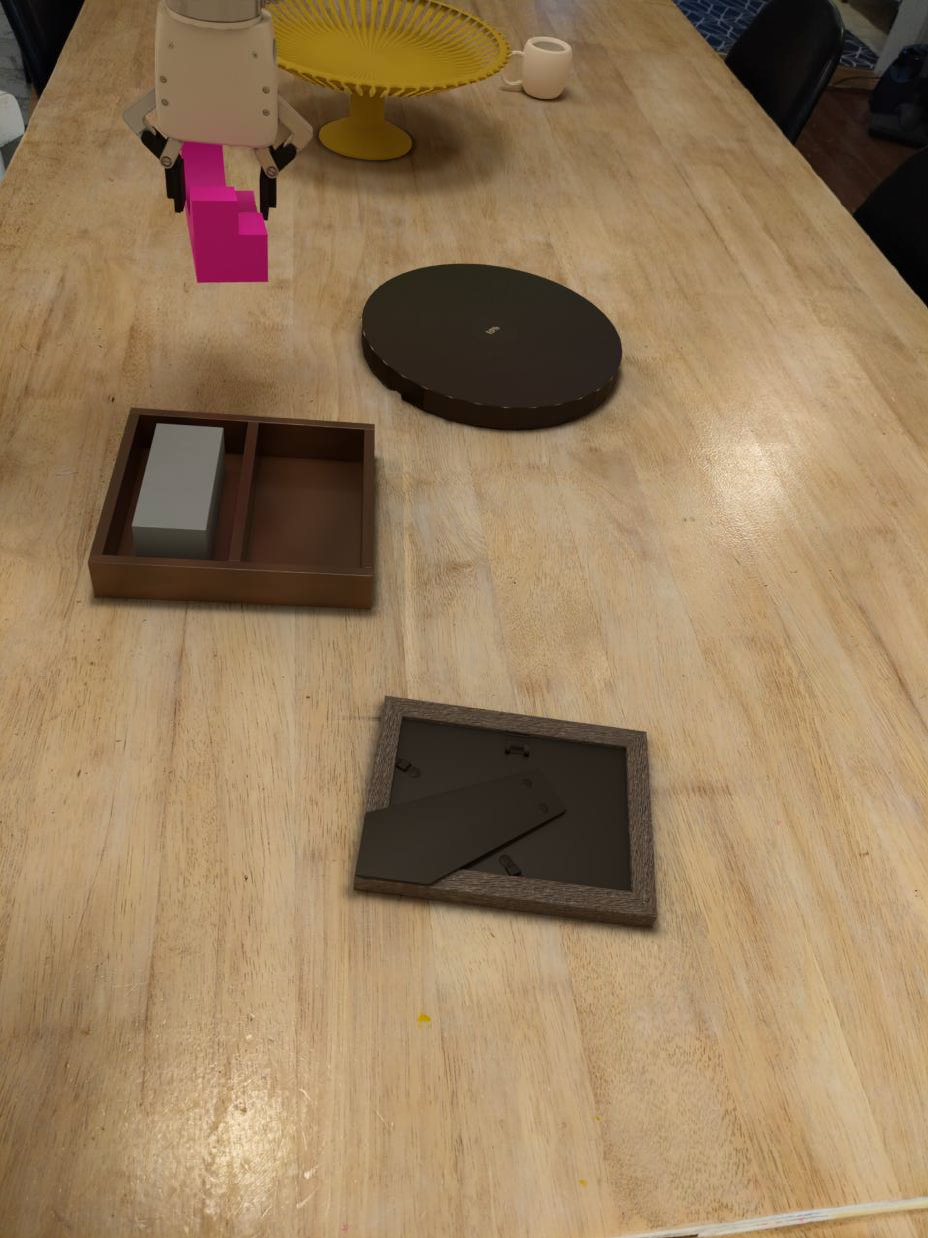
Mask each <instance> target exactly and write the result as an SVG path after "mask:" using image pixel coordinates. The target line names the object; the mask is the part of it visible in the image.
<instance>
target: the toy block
mask: <svg viewBox="0 0 928 1238" xmlns="http://www.w3.org/2000/svg"><path fill="white" fill-rule="evenodd" d="M223 146H224V145H217V144H206V143H197V142H187V141H185V142H184V144H183V146H182V148H181V150H180V155H181V157H182V158H183V159H184V170H185V184H186V202H185V206H184V211H185V217H186V224H187V229H188V235H189V242H190V247H191V248H190V249H191V255H192V260H193V261H192V262H193V265H194V273H195V278H196V283H197V284H208V283H209V284H213V283H214V284H216V283H217V284H220V283H222V284H223V283H224V284H225V283H269V233H268V229H267V226H266V223H265V220H264V218H263V215H262V212H260V211H259V212H258V208H257V203H256V197H255V190H241V189H240V190H237V189H236V188H235V186H228V185H227V181H226V171H225V160H224V159H225V157H224V147H223Z"/></svg>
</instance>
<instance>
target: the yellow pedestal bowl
mask: <svg viewBox="0 0 928 1238" xmlns="http://www.w3.org/2000/svg"><path fill="white" fill-rule="evenodd" d="M294 1H295V3H296V4H297V6H298V7H299V9H300V11H301V12H302V13H303V15H304V16H303V15H302V14H301V12H300V11H299V10H298V9H297V8H296V6H295V5H294V3H293V2H292V0H284V2H285V4H287V6H288V7H289V8H290V10H291V11H292V12H293V14H294V15H295V17H294V15H293V14H292V13H291V12H290V11H289V10H288V8H287V7H286V6H285V5H284V3H283V2H282V1H281V0H280V4H276V5H277V6H278V7H279V8H280V10H281V11H282V12H283V13H282V12H281V11H280V10H279V9H278V8H277V7H276V6H275V4H274V3H270V5H268V7H269V8H270V9H271V10H272V11H273V12H274V13H275V14H276V15H277V17H276V15H274V14H273V13H272V12H271V11H270V10H269V9H268V7H267V6H265V8H262V9H264V10H266V11H268V12H269V13H270V14H271V17H272V22H273V27H274V33H275V40H276V48H277V59H278V69H281V70H282V71H285V72H287V73H289V74H290V75H293V76H294V77H296V78H298V79H300V80H303V81H305V82H307V83H310V84H313V85H315V86H316V85H317V86H319V87H321V88H325V87H326V88H327V89H329V90H331V91H334V90H336V91H338V92H339V93H344V92H345V91H346V92H347V93H348V94H349V95H350V98H349V116H346V117H343V118H339V119H337V120H334V121H331V122H329V123H326V124H324V125H323V126H322V127H321V128H320V129H319V131H318V132H319V133H318V138H319V140H320V142H321V144H322V145H323V146H325V147H326V148H327V149H329V150H331V151H332V152H333V153H337V154H339V155H342V156H346V157H349V158H353V159H358V160H364V161H365V160H367V161H386V160H391V159H397V158H400V157H402V156H405V155H406V154H408V152H409V151H411V148H412V146H413V141H412V139H411V137H410V135H409V134H408V133H407V132H405V131H404V130H402V129H401V128H399V127H398V126H396V125H394V124H392V123H390V122H389V121H387V120H385V110H386V109H385V107H386V96H388V97H389V98H390V99H393V98H395V97H398V98H399V99H402V98H406V97H407V98H413V97H416V98H420V97H423V96H424V97H425V96H426V97H427V96H431V95H436V94H440V93H443V92H446V91H451V90H454V89H458V88H461V87H464V86H469V85H472V84H475V83H478V82H481V81H485V80H488V79H489V78H490V77H493V76H496V75H497V74H498V73H500V72H501V71H503V70H501V69H502V68H504V67H505V68H506V67H508V65H507V64H510V63H511V61H510V60H509V59H512V58H513V56H509V55H510V54H512V53H513V52H511V51H512V50H510V49H512V48H513V47H512V46H510V44H511V41H507V40H506V39H507V36H505V35H502V34H503V31H499V30H496V29H497V27H496V26H491V25H490V24H491V22H488V21H483V20H482V19H483V17H477V16H474V13H472V12H466V11H465V8H456V7H455V4H445V3H444V1H437V0H418V3H417V5H416V8H415V9H414V12H413V15H412V17H411V19H410V21H409V22H408V25H407V26H406V28H405V29H404V27H405V25H406V22H407V19H408V17H409V15H410V12H411V10H412V8H413V6H414V4H415V2H416V0H406V3H405V6H404V9H403V12H402V15H401V18H400V20H399V22H398V25H397V27H396V29H395V26H396V22H397V19H398V14H399V12H400V8H401V5H402V3H403V1H404V0H394V3H393V7H392V12H391V14H390V15H391V16H390V18H389V23H388V26H387V28H386V23H387V17H388V12H389V7H390V3H391V0H382V7H381V12H380V20H379V24H378V26H377V18H378V17H377V15H378V5H379V0H371V1H370V2H371V5H370V6H371V8H370V20H369V21H370V22H369V24H368V17H367V16H368V15H367V13H368V12H367V5H368V3H367V0H359V1H360V2H359V4H360V24H359V20H358V13H357V3H356V0H348V4H349V9H350V18H351V23H350V20H349V17H348V14H347V8H346V3H345V0H337V3H338V6H339V11H340V14H341V15H340V16H341V18H340V17H339V15H338V12H337V10H336V6H335V5H336V4H335V2H334V0H326V2H327V5H328V7H329V10H330V12H331V16H332V18H331V17H330V15H329V13H328V11H327V8H326V6H325V4H324V1H323V0H315V2H316V3H317V5H318V7H319V10H320V12H321V14H322V17H323V18H322V17H321V15H320V14H319V12H318V10H317V8H316V6H315V4H314V3H313V0H305V2H306V4H307V5H308V7H309V9H310V11H311V13H312V15H313V16H314V18H313V16H311V14H310V12H309V11H308V9H307V7H306V6H305V5H304V3H303V1H302V0H294ZM429 2H430V4H429V6H428V8H427V10H426V12H425V13H424V16H422V17H423V18H422V19H421V21H420V22H419V24H418V25H417V27H416V28H415V29H414V27H415V25H416V23H417V21H418V19H419V17H420V15H421V14H422V12H423V10H424V9H425V7H426V5H427V4H428V3H429ZM439 6H440V9H439V10H438V11H437V12H436V13H437V14H436V15H435V16H434V18H433V20H432V21H431V22H430V23H429V25H428V26H427V27H426V28H425V29H424V30H423V28H424V27H425V25H426V24H427V22H428V21H429V19H430V18H431V16H432V15H433V14H434V12H435V11H436V10H437V8H438V7H439ZM450 9H451V11H450V12H449V14H448V16H447V17H446V18H445V19H444V20H443V21H442V23H441V24H440V25H439V27H437V28H436V29H435V30H434V31H433V32H432V30H433V29H434V28H435V27H436V25H437V23H439V22H440V20H441V19H442V18H443V16H444V15H445V14H446V13H447V12H448V11H449V10H450ZM459 13H460V15H459V16H458V17H457V19H456V20H455V21H454V22H453V23H452V24H451V25H450V26H449V27H448V28H447V29H446V30H445V31H444V32H443V33H441V32H442V31H443V30H444V29H445V27H447V26H448V25H449V24H450V22H451V21H452V20H453V19H454V18H455V17H456V16H457V15H458V14H459ZM284 15H285V16H284ZM278 17H279V18H280V19H279V18H278ZM304 17H305V18H304ZM467 18H470V19H468V20H467V22H465V23H464V24H463V25H462V26H461V27H460V28H459V29H458V30H457V31H456V32H455V33H453V34H452V35H451V33H452V32H453V31H454V30H455V29H456V28H457V27H459V26H460V25H461V24H462V23H463V22H464V21H466V19H467ZM341 19H342V21H341ZM476 22H477V23H476ZM475 23H476V24H475ZM473 24H475V25H474V26H473V27H472V28H471V29H469V30H468V31H467V32H465V34H463V35H462V36H460V35H461V34H462V33H463V32H464V31H466V30H467V29H468V28H469V27H471V26H472V25H473ZM368 25H369V26H368ZM482 27H484V28H483V29H482V30H480V29H481V28H482ZM413 29H414V30H413ZM422 30H423V31H422ZM479 30H480V31H479ZM477 31H479V32H477ZM431 32H432V33H431ZM475 32H477V33H476V34H475V35H474V36H473V37H471V38H469V39H468V40H466V39H467V38H468V37H470V36H471V35H472V34H474V33H475ZM488 32H490V33H488ZM430 33H431V34H430ZM487 33H488V34H487ZM485 34H486V35H485ZM438 35H439V36H438ZM449 35H450V36H449ZM483 35H485V36H483ZM448 36H449V37H448ZM459 36H460V37H459ZM481 36H483V37H482V38H481ZM457 37H458V38H457ZM493 37H494V38H493ZM456 38H457V39H456ZM479 38H481V39H479ZM492 38H493V39H492ZM477 39H479V40H478V41H476V40H477ZM489 39H491V40H489ZM465 40H466V41H465ZM488 40H489V41H488ZM463 41H464V42H463ZM474 41H476V42H474ZM486 41H488V42H486ZM473 42H474V43H473ZM485 42H486V43H485ZM471 43H473V44H471ZM482 43H484V44H483V45H481V44H482ZM495 43H496V44H495ZM493 44H494V45H493ZM479 45H481V46H479ZM491 45H492V46H491ZM478 46H479V47H478ZM489 46H490V47H489ZM476 47H477V48H476ZM487 47H488V48H487ZM486 48H487V49H486ZM497 48H498V49H497ZM484 49H485V50H484ZM495 49H496V50H495ZM482 50H483V51H482ZM493 50H494V51H493ZM491 51H492V52H491ZM489 52H491V53H489ZM487 53H488V54H487ZM485 54H486V55H485ZM496 54H497V55H496ZM489 57H490V58H489ZM505 64H506V65H505ZM505 68H504V69H505Z"/></svg>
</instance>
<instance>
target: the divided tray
mask: <svg viewBox="0 0 928 1238" xmlns="http://www.w3.org/2000/svg"><path fill="white" fill-rule="evenodd" d="M157 423H159V424H174V425H189V426H204V427H219V428H223V429H224V446H225V463H226V472H225V478H224V484H223V491H222V497H221V503H220V509H219V515H218V521H217V528H216V534H215V540H214V546H213V552H212V558H211V560H194V559H174V558H154V557H136V551H135V544H134V538H133V531H132V523H133V519H134V515H135V511H136V507H137V502H138V498H139V494H140V490H141V486H142V482H143V478H144V474H145V470H146V466H147V462H148V458H149V454H150V449H151V445H152V441H153V437H154V433H155V429H156V425H157ZM375 434H376V423H366V422H354V421H353V422H351V421H336V420H324V419H323V420H322V419H307V418H292V417H277V416H266V415H265V416H264V415H263V416H262V415H248V414H234V413H220V412H219V413H216V412H205V411H191V410H190V411H189V410H175V409H159V408H146V407H130V408H129V411H128V416H127V419H126V423H125V426H124V430H123V434H122V437H121V441H120V444H119V448H118V450H117V451H118V452H117V454H116V459H115V462H114V466H113V469H112V473H111V476H110V480H109V484H108V487H107V491H106V494H105V498H104V501H103V505H102V509H101V512H100V516H99V519H98V523H97V527H96V530H95V533H94V538H93V541H92V544H91V548H90V552H89V555H88V560H87V566H88V572H89V577H90V581H91V586H92V592H93V596H94V598H100V599H101V598H106V599H123V600H124V599H127V600H147V601H148V600H149V601H151V600H152V601H170V602H171V601H172V602H193V603H215V604H234V605H235V604H237V605H260V606H281V607H282V606H283V607H301V608H303V607H305V608H324V609H325V608H326V609H347V610H348V609H350V610H370V611H371V610H372V599H373V589H374V587H373V586H374V573H375V572H374V568H375V567H374V565H375V564H374V563H375V561H374V560H375V559H374V557H375V553H374V552H375V457H376V454H375V443H376V440H375V439H376V438H375V437H376V435H375Z"/></svg>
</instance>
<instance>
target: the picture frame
mask: <svg viewBox="0 0 928 1238" xmlns="http://www.w3.org/2000/svg"><path fill="white" fill-rule="evenodd" d="M380 716H381V717H380V722H379V729H378V735H377V740H376V747H375V753H374V759H373V765H372V771H371V777H370V783H369V788H368V794H367V801H366V806H365V813H364V819H363V825H362V831H361V836H360V842H359V848H358V853H357V854H358V855H357V860H356V866H355V872H354V878H353V889H354V890H360V891H369V892H375V893H376V892H377V893H385V894H392V895H399V896H407V897H415V898H423V899H430V900H437V901H445V902H453V903H454V902H455V903H461V904H467V905H475V906H482V907H483V906H484V907H490V908H498V909H505V910H513V911H522V912H529V913H536V914H545V915H552V916H561V917H568V918H575V919H582V920H590V921H599V922H605V923H606V922H607V923H612V924H620V925H621V924H622V925H629V926H636V927H642V928H643V927H644V928H652V927H653V925H654V924H655V922H656V920H657V918H658V906H657V890H656V888H657V887H656V872H655V855H654V853H655V852H654V838H653V835H654V834H653V819H652V817H653V816H652V802H651V785H650V770H649V769H650V768H649V751H648V749H649V748H648V733H647V731H646V730H645V731H643V730H638V729H632V728H624V727H617V726H608V725H601V724H595V723H587V722H580V721H572V720H565V719H560V718H559V719H558V718H551V717H543V716H536V715H529V714H521V713H516V712H515V713H514V712H506V711H502V710H501V711H500V710H494V709H485V708H478V707H471V706H464V705H457V704H450V703H441V702H434V701H430V700H429V701H427V700H421V699H415V698H414V699H413V698H406V697H399V696H393V695H392V696H391V695H384V699H383V703H382V710H381V715H380Z"/></svg>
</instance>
